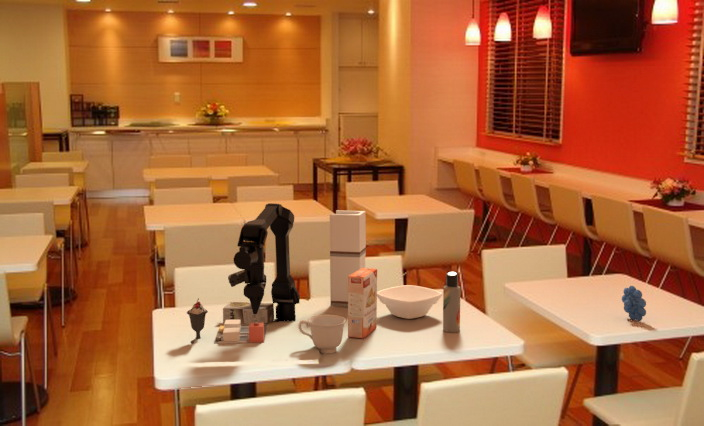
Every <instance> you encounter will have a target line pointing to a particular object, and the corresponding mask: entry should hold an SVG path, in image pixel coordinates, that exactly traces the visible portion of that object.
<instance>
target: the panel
mask: <svg viewBox="0 0 704 426" xmlns="http://www.w3.org/2000/svg"><path fill="white" fill-rule="evenodd" d="M249 325H250V324H241V330H240V340H239V341H223V331H224V325H219V328H218V330H217V334H216V336H215V338H214V341H213V345H222V344H223V345H224V344H256V343H257V344H262V343H263V344H264V343H265V339H266V332H267V325H268V324H264V342H249Z"/></svg>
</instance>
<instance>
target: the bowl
mask: <svg viewBox="0 0 704 426" xmlns="http://www.w3.org/2000/svg"><path fill="white" fill-rule="evenodd" d="M441 297H443V293H442V292H441V291H439V290H436V289H432V288H430V287H425V286H419V285H414V284H413V285H412V284H406V285H405V284H404V285H398V286H397V285H396V286H392V287H388V288H384V289H383V288H382V289H381V290H377V299H378V300H379V301H380V303H382V304H383V305H385V307H386V308H387V310H388V311H389V313H390V314H391V315H393V316H395V317H399V318H403V319H408V320H410V319H417V318H420V317H424V316H426V315H427V314H428V313H429V311H430V310H431V309H432V307H433V305H436V304H437V303H438V302H439V300H440V299H441Z"/></svg>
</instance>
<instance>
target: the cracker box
mask: <svg viewBox="0 0 704 426" xmlns="http://www.w3.org/2000/svg"><path fill="white" fill-rule="evenodd" d="M377 292H378V268H371V267H365V268H361V269H359V270H358V271H356V272H354V273H353V274H351V275H349V276H348V307H347V337H348V338H354V339H355V338H356V339H364V338H366V337H367V336H368V335H370V333H371V332H373V331H374V330H375V329H376V328H377V323H378V322H377V318H378V317H377V315H378V314H377V313H378V311H377V309H378V308H377V307H378V306H377V305H378V297H377Z"/></svg>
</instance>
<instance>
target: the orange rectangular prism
mask: <svg viewBox="0 0 704 426" xmlns="http://www.w3.org/2000/svg"><path fill="white" fill-rule="evenodd" d="M248 325H249V342H264V343H265V340H264V325H265V324H264V323H258V322H255V323H250V324H248Z"/></svg>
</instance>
